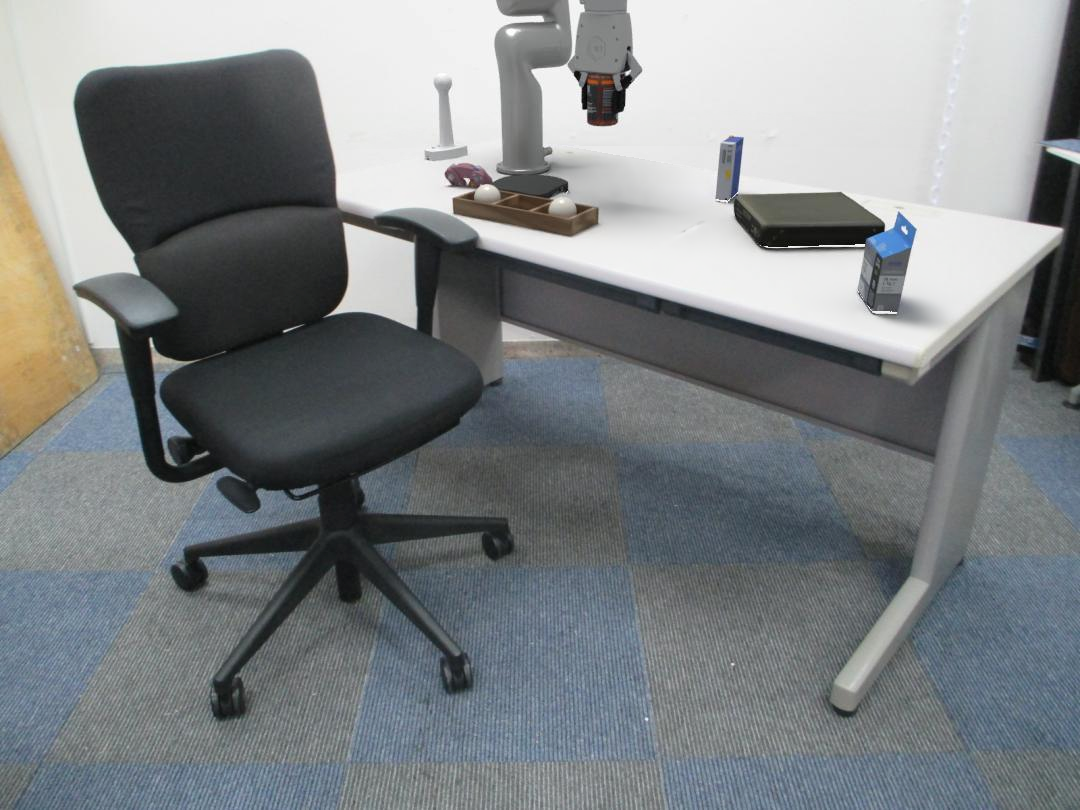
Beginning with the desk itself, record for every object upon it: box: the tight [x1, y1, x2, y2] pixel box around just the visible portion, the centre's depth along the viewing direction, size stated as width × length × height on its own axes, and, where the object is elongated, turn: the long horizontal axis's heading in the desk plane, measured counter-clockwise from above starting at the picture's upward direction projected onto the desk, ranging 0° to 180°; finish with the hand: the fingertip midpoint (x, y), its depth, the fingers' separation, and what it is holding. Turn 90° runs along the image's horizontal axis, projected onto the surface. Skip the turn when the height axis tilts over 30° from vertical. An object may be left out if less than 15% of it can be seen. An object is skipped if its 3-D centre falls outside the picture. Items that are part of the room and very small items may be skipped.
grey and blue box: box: [857, 210, 918, 313], centre depth 116 cm, size 9×4×12 cm, turn 175°
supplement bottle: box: [586, 73, 619, 127], centre depth 153 cm, size 6×6×11 cm
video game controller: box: [444, 162, 494, 188], centre depth 178 cm, size 10×5×7 cm, turn 69°
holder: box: [452, 189, 600, 238], centre depth 156 cm, size 10×27×4 cm, turn 55°
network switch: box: [733, 191, 886, 247], centre depth 148 cm, size 23×24×5 cm
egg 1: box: [474, 184, 501, 204], centre depth 159 cm, size 5×5×5 cm
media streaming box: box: [490, 173, 569, 199], centre depth 175 cm, size 15×15×3 cm
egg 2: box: [548, 196, 577, 218], centre depth 150 cm, size 5×5×5 cm
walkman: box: [715, 135, 745, 201], centre depth 167 cm, size 8×3×12 cm, turn 153°
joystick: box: [423, 72, 468, 162], centre depth 204 cm, size 11×8×20 cm
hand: (602, 109), depth 154 cm, fingers closed on supplement bottle, 6 cm apart
